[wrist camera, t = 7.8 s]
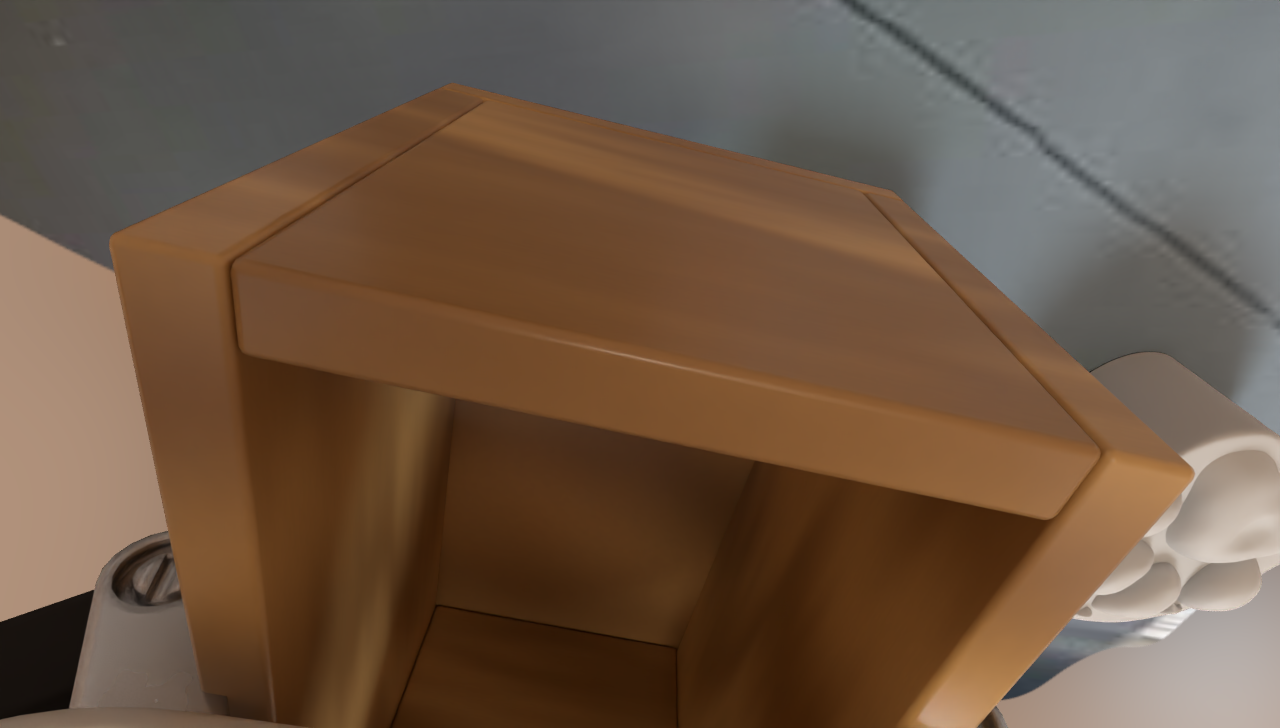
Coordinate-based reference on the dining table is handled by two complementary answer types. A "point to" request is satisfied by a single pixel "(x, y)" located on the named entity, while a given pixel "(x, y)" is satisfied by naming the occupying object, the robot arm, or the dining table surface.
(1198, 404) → the lumpy-topped squat cylinder
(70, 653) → the robot arm
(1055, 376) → the wooden basket
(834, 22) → the dining table surface
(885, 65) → the dining table surface
